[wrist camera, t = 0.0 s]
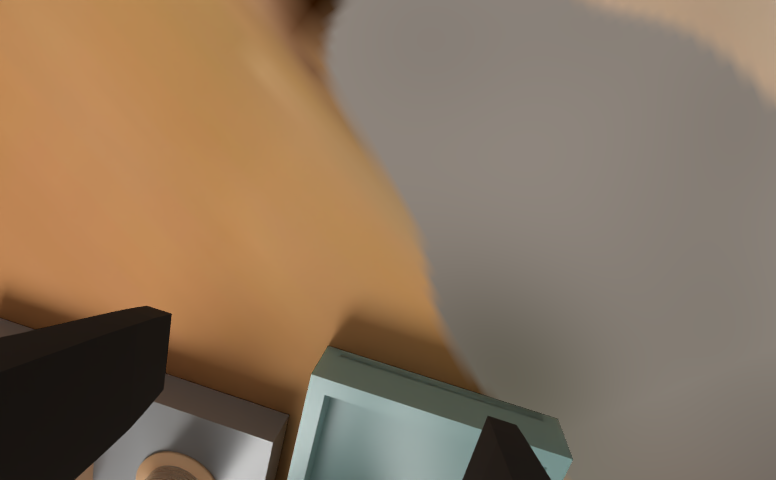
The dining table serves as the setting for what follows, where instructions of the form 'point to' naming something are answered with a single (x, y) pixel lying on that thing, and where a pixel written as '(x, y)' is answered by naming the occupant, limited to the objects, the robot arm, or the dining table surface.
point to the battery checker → (192, 435)
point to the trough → (403, 425)
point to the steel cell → (170, 474)
